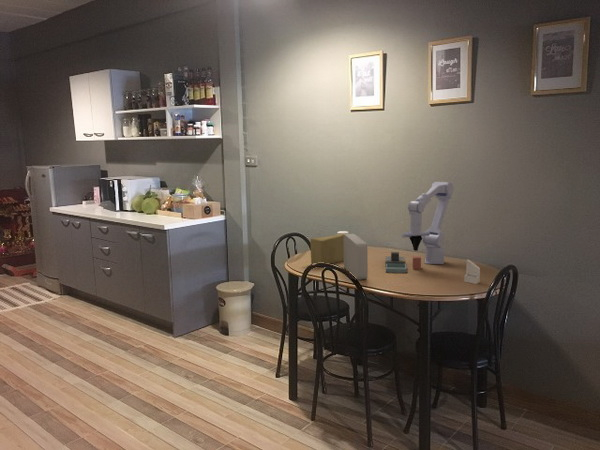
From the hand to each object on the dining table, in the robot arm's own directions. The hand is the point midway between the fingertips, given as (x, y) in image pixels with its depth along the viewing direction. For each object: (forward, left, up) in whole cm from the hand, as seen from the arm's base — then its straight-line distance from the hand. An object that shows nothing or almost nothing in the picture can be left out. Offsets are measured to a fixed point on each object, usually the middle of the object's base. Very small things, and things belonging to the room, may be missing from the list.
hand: (415, 250), depth 260 cm
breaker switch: (+10, -3, -6) cm, 13 cm away
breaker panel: (+10, -6, -9) cm, 15 cm away
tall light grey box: (+30, +13, -10) cm, 34 cm away
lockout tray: (+10, +5, -9) cm, 14 cm away
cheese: (+45, -8, -10) cm, 47 cm away
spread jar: (+40, -35, -10) cm, 55 cm away
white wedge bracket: (-25, +24, -10) cm, 35 cm away
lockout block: (-1, +1, -9) cm, 9 cm away
